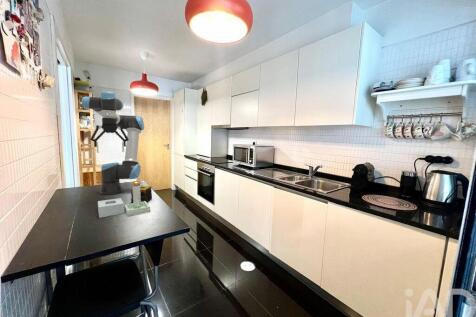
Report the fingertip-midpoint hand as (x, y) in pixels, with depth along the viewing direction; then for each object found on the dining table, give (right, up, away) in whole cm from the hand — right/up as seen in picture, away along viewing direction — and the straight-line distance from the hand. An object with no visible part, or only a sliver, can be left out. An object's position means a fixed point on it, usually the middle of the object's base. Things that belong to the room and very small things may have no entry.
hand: (110, 152), depth 127 cm
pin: (+19, -35, -5) cm, 40 cm away
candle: (+14, -34, +12) cm, 39 cm away
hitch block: (+5, -36, -8) cm, 37 cm away
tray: (+19, -36, -5) cm, 41 cm away
